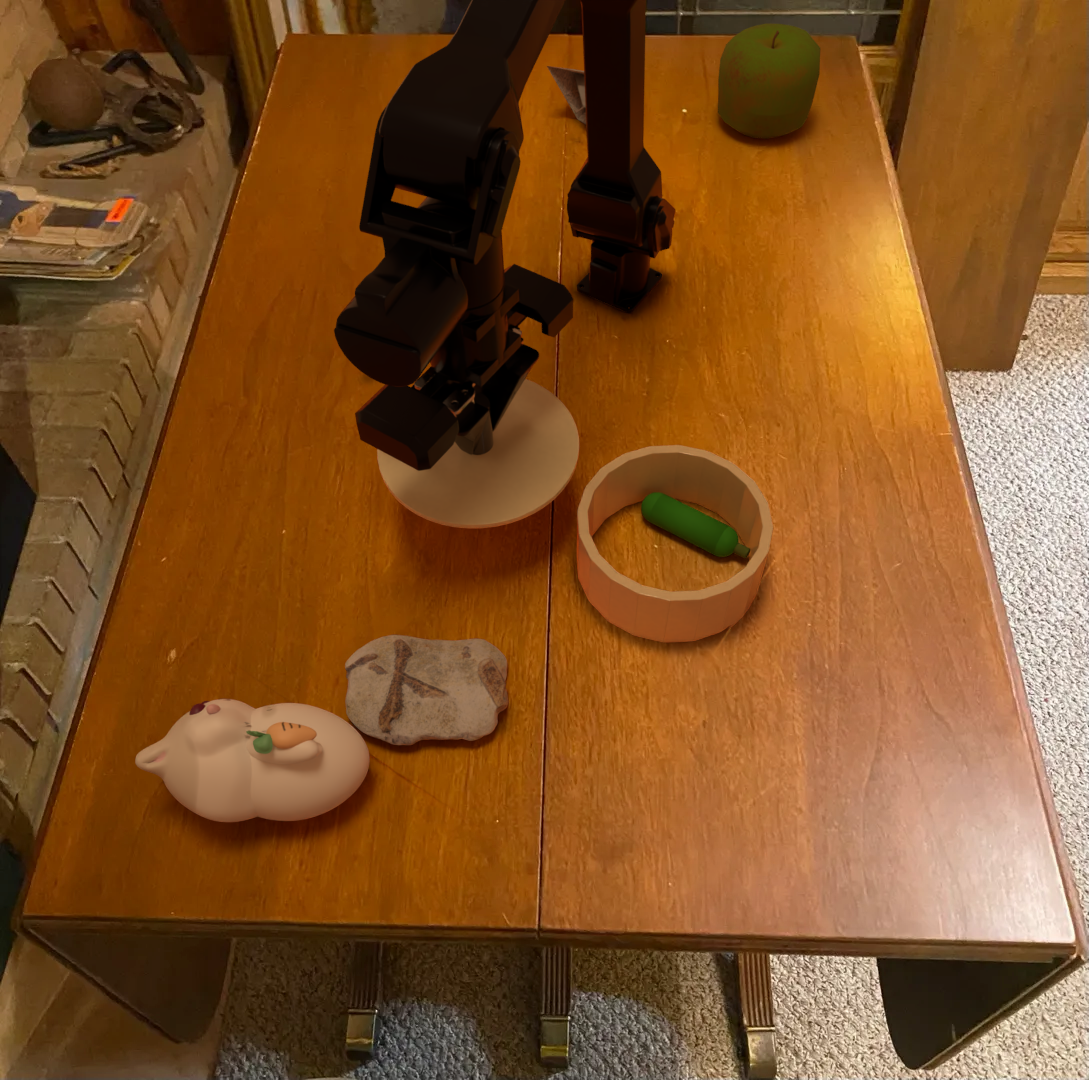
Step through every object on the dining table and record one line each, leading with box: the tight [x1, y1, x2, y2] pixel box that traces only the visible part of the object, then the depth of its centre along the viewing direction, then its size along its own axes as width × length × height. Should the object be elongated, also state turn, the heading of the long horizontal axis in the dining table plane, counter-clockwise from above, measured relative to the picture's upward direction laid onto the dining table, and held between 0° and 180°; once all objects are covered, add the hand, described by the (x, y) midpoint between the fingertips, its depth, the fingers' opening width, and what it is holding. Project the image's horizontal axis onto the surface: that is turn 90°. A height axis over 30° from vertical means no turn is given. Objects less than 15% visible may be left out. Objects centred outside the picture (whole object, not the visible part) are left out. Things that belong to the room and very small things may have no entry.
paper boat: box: [546, 65, 586, 125], centre depth 116 cm, size 12×6×9 cm
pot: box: [576, 444, 774, 643], centre depth 80 cm, size 15×15×6 cm
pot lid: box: [376, 378, 580, 529], centre depth 78 cm, size 16×16×6 cm
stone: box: [344, 634, 510, 746], centre depth 74 cm, size 12×9×3 cm
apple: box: [717, 23, 821, 140], centre depth 114 cm, size 11×11×11 cm
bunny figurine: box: [134, 698, 371, 823], centre depth 69 cm, size 10×8×15 cm
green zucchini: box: [640, 492, 750, 559], centre depth 82 cm, size 10×3×3 cm, turn 56°
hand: (478, 439), depth 79 cm, fingers closed on pot lid, 2 cm apart
